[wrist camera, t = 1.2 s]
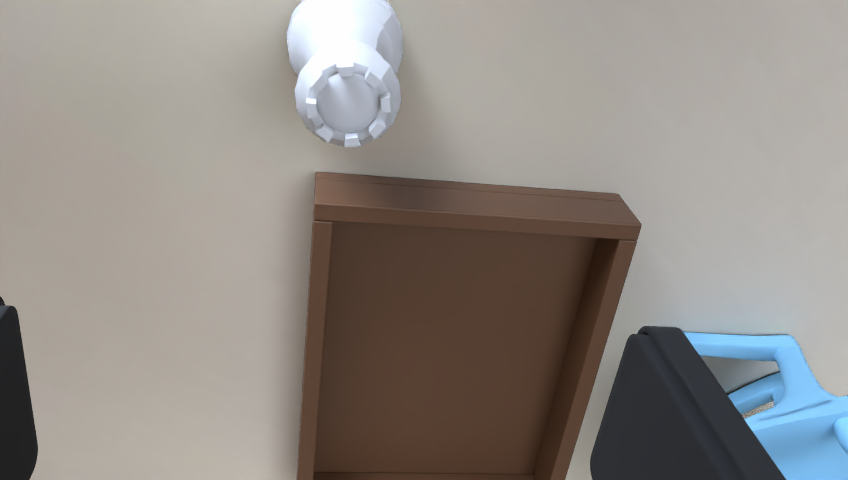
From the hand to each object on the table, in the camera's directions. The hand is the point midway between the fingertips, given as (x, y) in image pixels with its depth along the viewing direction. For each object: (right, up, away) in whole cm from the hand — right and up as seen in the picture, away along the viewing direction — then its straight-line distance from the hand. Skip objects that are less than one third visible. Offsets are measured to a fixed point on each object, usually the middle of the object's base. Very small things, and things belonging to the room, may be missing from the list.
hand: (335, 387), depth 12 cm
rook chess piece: (-2, +10, +18) cm, 20 cm away
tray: (+2, -3, +25) cm, 26 cm away
